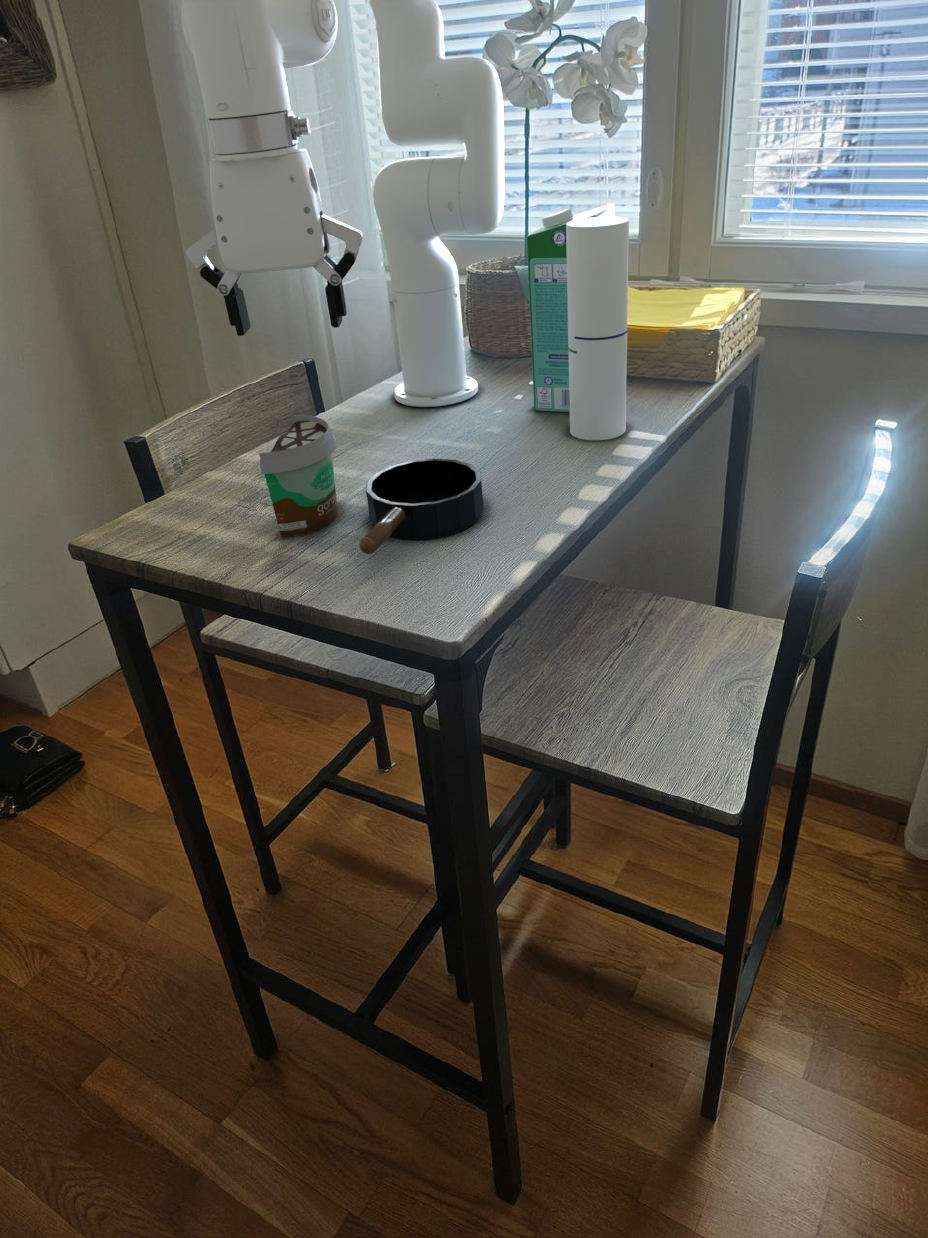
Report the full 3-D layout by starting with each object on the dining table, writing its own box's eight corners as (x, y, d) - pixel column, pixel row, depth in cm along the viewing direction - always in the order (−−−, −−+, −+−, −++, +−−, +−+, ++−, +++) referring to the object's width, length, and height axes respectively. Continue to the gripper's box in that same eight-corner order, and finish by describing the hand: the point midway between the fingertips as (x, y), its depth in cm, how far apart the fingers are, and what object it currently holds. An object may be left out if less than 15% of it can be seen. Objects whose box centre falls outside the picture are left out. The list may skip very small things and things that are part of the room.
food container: (332, 542, 93) (316, 453, 87) (276, 543, 94) (257, 455, 88) (359, 493, 103) (346, 411, 98) (309, 494, 104) (293, 413, 99)
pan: (400, 487, 104) (395, 455, 102) (499, 495, 99) (496, 461, 97) (313, 571, 88) (306, 535, 86) (427, 585, 83) (422, 547, 81)
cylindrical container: (604, 444, 110) (605, 228, 96) (558, 433, 114) (553, 225, 101) (636, 426, 114) (641, 217, 101) (591, 417, 118) (590, 215, 105)
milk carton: (553, 389, 129) (547, 204, 116) (613, 392, 126) (614, 201, 113) (533, 410, 123) (525, 215, 109) (597, 414, 119) (596, 213, 106)
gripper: (352, 125, 83) (378, 311, 92) (173, 143, 84) (217, 325, 93) (341, 131, 76) (370, 331, 86) (148, 151, 78) (197, 345, 87)
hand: (290, 328), depth 89 cm, fingers open, 9 cm apart
